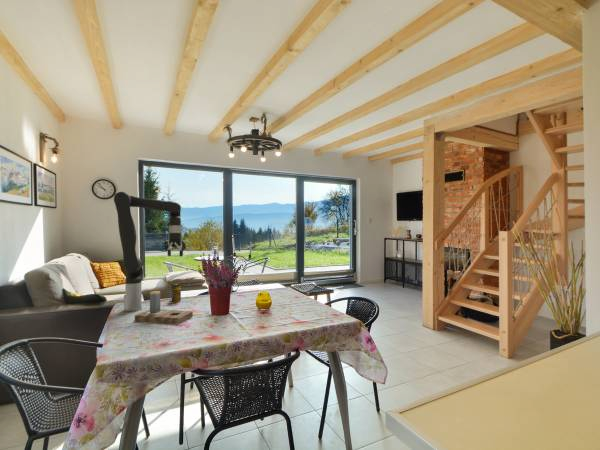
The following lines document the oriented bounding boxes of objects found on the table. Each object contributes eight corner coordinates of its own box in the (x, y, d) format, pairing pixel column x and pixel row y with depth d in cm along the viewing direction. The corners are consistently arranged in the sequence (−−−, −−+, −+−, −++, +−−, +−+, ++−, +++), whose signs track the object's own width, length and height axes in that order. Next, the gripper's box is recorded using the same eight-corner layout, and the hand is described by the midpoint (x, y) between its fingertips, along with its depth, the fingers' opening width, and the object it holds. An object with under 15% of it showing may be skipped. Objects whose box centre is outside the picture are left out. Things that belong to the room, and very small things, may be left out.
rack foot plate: (134, 320, 181) (134, 314, 181) (150, 313, 195) (150, 308, 195) (179, 323, 176) (179, 317, 176) (192, 316, 189) (192, 310, 189)
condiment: (183, 301, 225) (183, 284, 225) (171, 303, 219) (171, 286, 219) (178, 299, 230) (178, 283, 230) (166, 301, 225) (166, 284, 224)
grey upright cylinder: (149, 312, 185) (149, 292, 185) (154, 311, 189) (154, 290, 189) (155, 313, 184) (155, 292, 184) (160, 311, 188) (160, 291, 188)
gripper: (162, 232, 212) (162, 256, 212) (181, 232, 209) (181, 257, 210) (169, 231, 220) (169, 255, 220) (187, 232, 217) (187, 255, 217)
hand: (175, 256), depth 215 cm, fingers open, 8 cm apart
